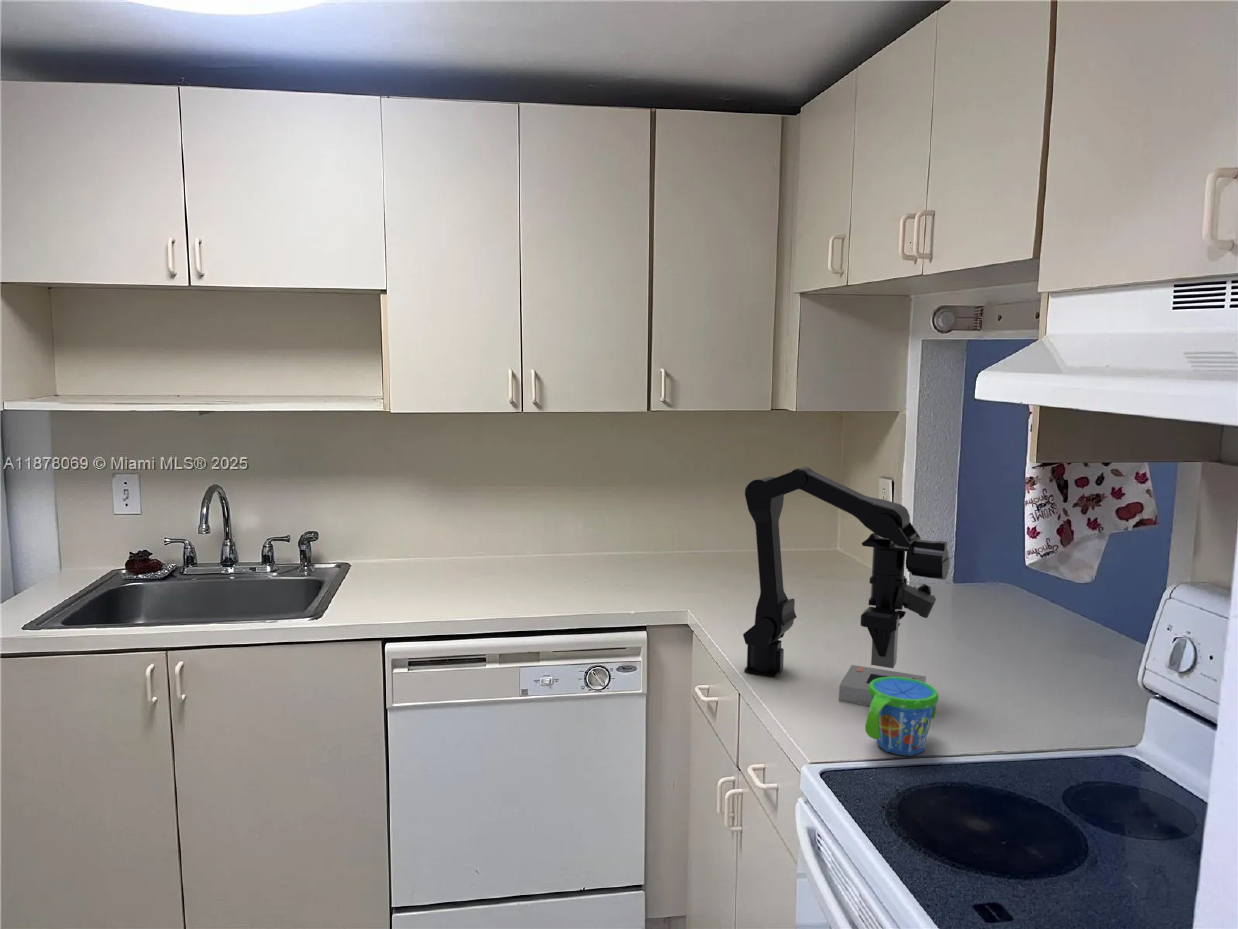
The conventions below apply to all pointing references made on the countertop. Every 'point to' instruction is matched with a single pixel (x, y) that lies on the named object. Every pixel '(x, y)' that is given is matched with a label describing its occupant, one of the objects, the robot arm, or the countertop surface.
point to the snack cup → (900, 714)
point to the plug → (890, 655)
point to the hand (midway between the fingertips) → (883, 652)
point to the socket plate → (866, 683)
